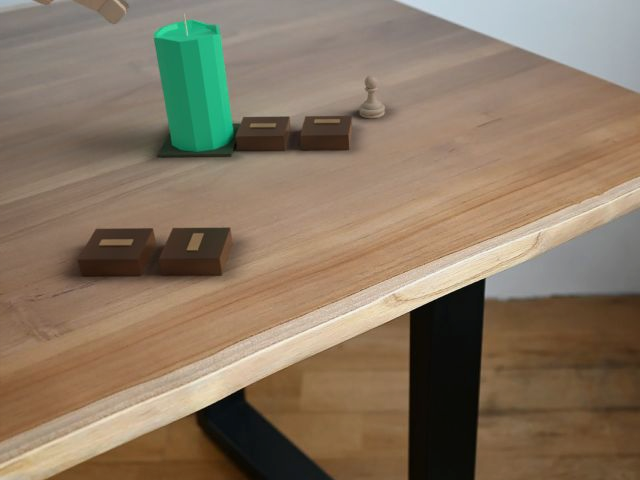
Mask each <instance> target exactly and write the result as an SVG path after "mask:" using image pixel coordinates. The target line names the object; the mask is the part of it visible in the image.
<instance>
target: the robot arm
mask: <svg viewBox="0 0 640 480" xmlns="http://www.w3.org/2000/svg"><path fill="white" fill-rule="evenodd" d="M32 1H34V2H36V3H38V4H41V5H43V6H49V5H51V3H53V2H54V0H32ZM73 1H74V3H77V4H79V5H82V6H84V7H86V8H88V9H90V10H93V11H95V12H97V13H98V14H99V15H100V16H102V17H103V18H104V19H105V20H106V21H107V22H108V23H109V24H111V25H116V24H118V23H119V22H120V21H121V20H122V18H124V16H125V15H126V14H127V13H128V12H129V10H130V4H129V3H128V2H127V1H126V0H73Z"/></svg>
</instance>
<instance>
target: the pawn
mask: <svg viewBox="0 0 640 480" xmlns="http://www.w3.org/2000/svg"><path fill="white" fill-rule="evenodd" d="M364 86H365V87H364V91H365V92H367V96H366V97H367V98H366V100H364V101H363V103H362V104H360V105H359V107H358V110H359V116H360V117H362V118H364V119H371V120H372V119H373V120H374V119H379V118H381V117H383V116H384V115H385V113H386V112H385V110H386V107H385V105H384V104H383V103H382V102H381V101H380V100H378V99H377V97H376V92H377V91H378V87H377V86H378V79H377V77H375V76H374V75H367V76H366V77H365V80H364Z"/></svg>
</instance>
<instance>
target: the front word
mask: <svg viewBox="0 0 640 480" xmlns="http://www.w3.org/2000/svg"><path fill="white" fill-rule="evenodd" d="M233 243H234V242H233V236H232V229H231V227H229V226H228V227H227V226H226V227H223V226H221V227H172V228H171V230H170V233H169V235H168V237H167V240H166V242H165V244H164V246H163V248H162V251H161V253H160V255H159V257H158V263H159V268H160V272H161V276H162V277H177V276H178V277H179V276H182V277H188V276H189V277H190V276H191V277H192V276H193V277H195V276H223V273H224V271H225V268H226V265H227V262H228V259H229V256H230V253H231V250H232V247H233ZM156 246H157V241H156V235H155V230H154V227H140V228H139V227H132V228H131V227H129V228H128V227H127V228H126V227H125V228H124V227H121V228H95V230H94V231H93V233H92V234H91V236H90V238H89V240H88V241H87V244H86V245H85V246H84V248H83V250H82V251H81V253H80V254H79V257H78V258H77V263H78V267H79V271H80V274H81V277H141V276H143V273H144V271H145V269H146V267H147V265H148V263H149V261H150V258H151V257H152V254H153V253H154V251H155V248H156Z"/></svg>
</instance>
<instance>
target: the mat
mask: <svg viewBox="0 0 640 480" xmlns="http://www.w3.org/2000/svg"><path fill="white" fill-rule="evenodd" d="M240 124H241V122H240V123H232V125H233V133H234V138H233V139H232V140H231V141H230V142H229V143H228V144H227V145H224V146H222V147H219V148H217V149H214V150H207V151H199V152H194V151H184V150H180V149H178V148H176V147H175V146H173V145H172V141H171V135H170V132H169V134H168V135H167V137H166V139H165V141H164V142H163V144H162V145H161V148H160V150H159V152H158V153H157V157H158V158H209V157H210V158H214V157H215V158H225V157H226V158H227V157H230V158H231V157H232V156H233V153H234V150H235V148H236V147H237V145H236V138H235V136H236V134H237V131H238V129H239V127H240Z"/></svg>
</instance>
